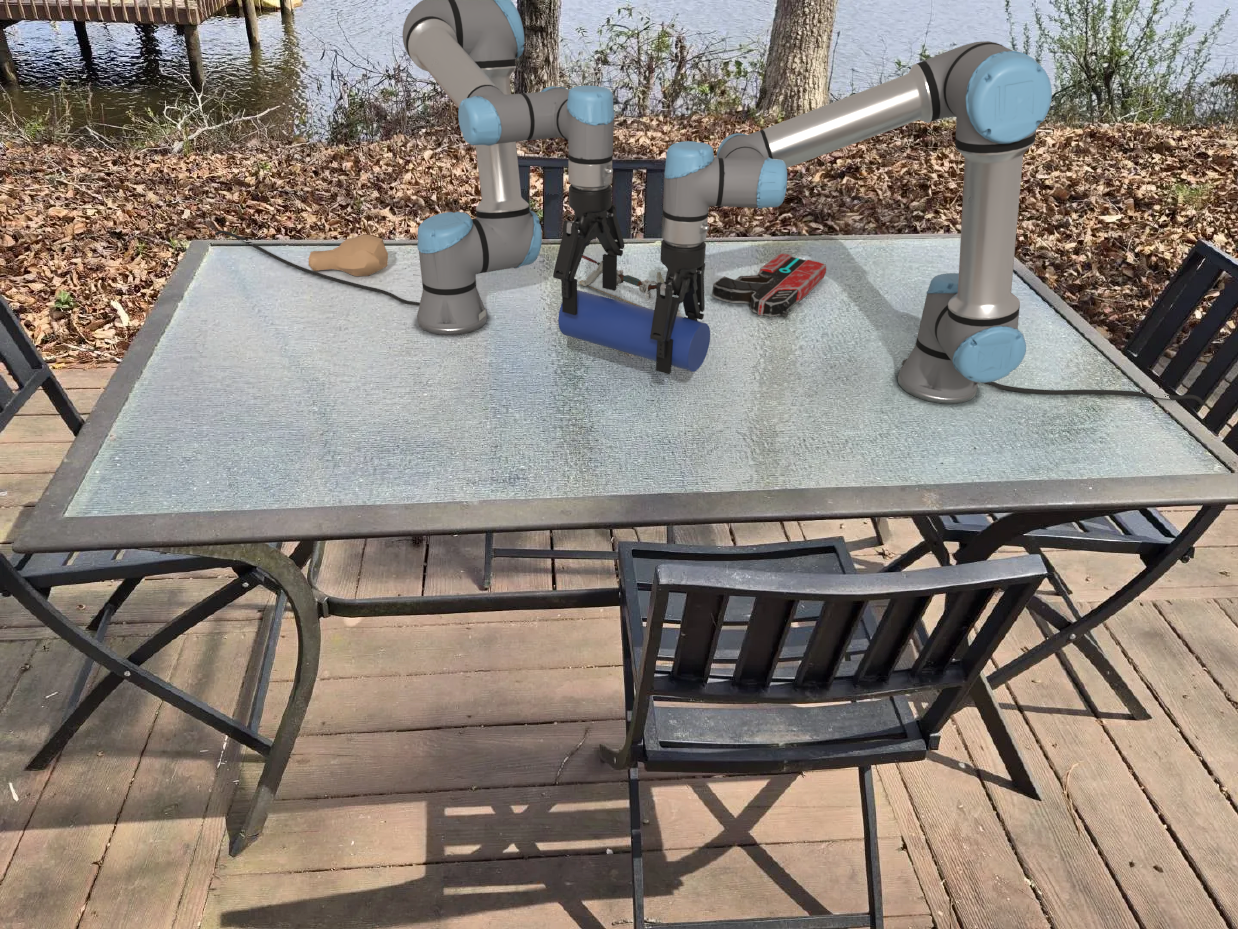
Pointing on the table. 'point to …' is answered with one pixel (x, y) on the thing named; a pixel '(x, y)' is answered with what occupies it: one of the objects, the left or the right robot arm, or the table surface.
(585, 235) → the left robot arm
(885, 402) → the table surface
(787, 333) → the table surface
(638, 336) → the rod
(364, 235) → the squash
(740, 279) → the gun
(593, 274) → the bow
